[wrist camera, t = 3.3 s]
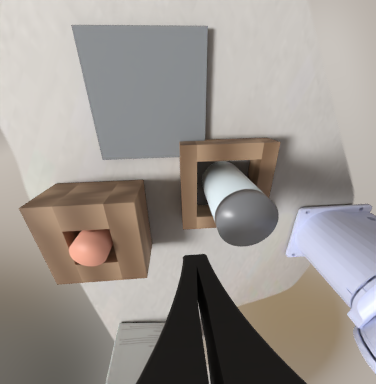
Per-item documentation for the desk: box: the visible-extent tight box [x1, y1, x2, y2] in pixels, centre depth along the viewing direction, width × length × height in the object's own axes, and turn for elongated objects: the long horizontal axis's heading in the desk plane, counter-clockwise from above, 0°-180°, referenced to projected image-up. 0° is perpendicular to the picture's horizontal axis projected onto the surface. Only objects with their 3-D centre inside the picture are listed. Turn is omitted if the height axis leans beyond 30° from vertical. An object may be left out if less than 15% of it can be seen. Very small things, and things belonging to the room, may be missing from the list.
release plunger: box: [69, 229, 113, 266], centre depth 18 cm, size 3×3×5 cm
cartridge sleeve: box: [179, 138, 280, 230], centre depth 19 cm, size 9×9×2 cm
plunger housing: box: [19, 180, 152, 285], centre depth 19 cm, size 9×9×5 cm
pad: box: [71, 25, 208, 160], centre depth 16 cm, size 10×10×1 cm
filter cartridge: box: [201, 161, 278, 246], centre depth 16 cm, size 4×4×8 cm
